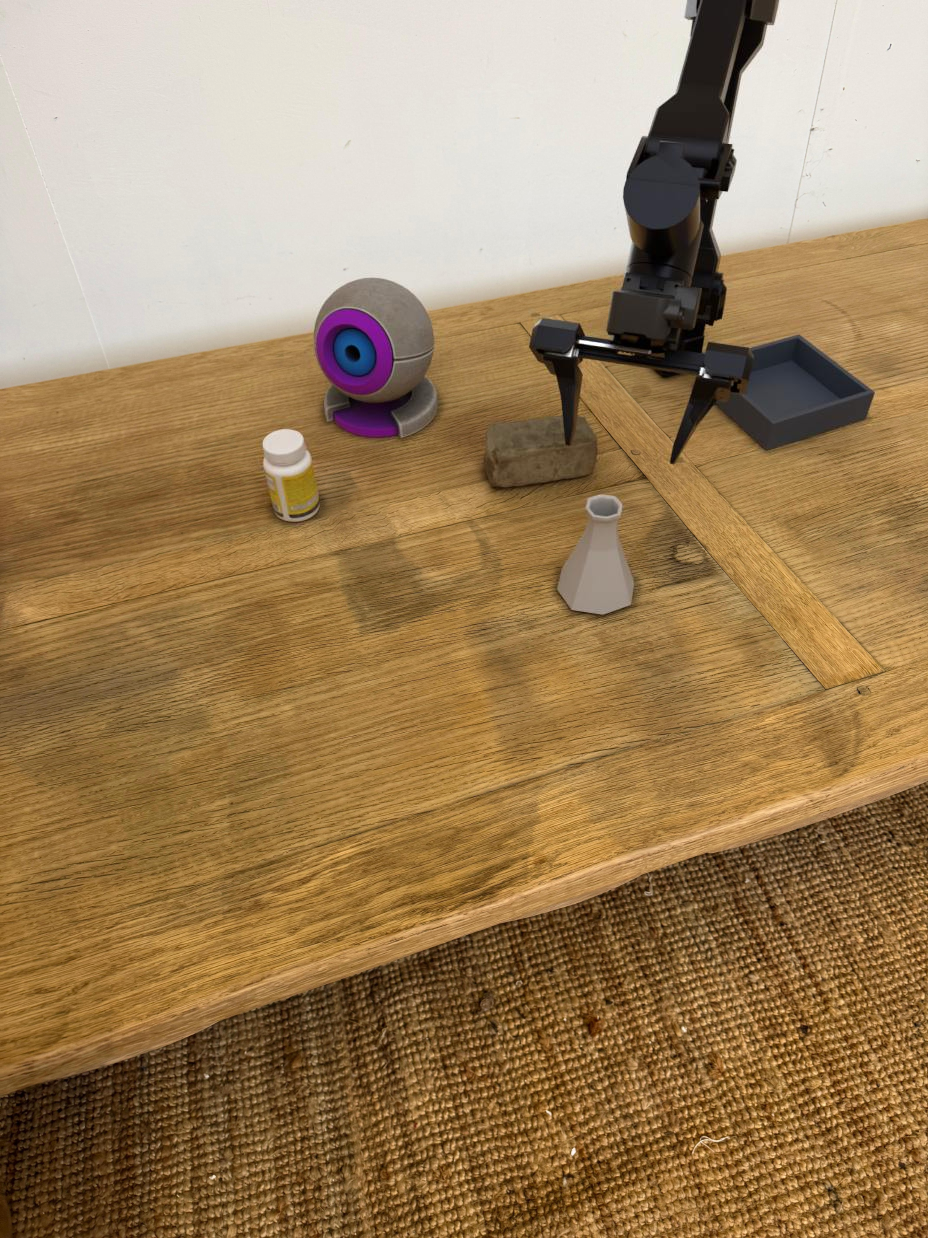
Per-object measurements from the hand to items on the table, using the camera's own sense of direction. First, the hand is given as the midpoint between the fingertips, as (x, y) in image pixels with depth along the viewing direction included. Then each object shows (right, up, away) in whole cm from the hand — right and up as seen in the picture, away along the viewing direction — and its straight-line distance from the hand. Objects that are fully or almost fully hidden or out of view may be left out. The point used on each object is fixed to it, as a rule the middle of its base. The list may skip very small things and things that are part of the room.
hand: (619, 454), depth 82 cm
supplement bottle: (-31, -3, +14) cm, 34 cm away
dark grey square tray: (+22, +10, +24) cm, 34 cm away
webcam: (-23, +10, +26) cm, 36 cm away
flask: (-1, -12, +5) cm, 13 cm away
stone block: (-6, +1, +17) cm, 18 cm away
